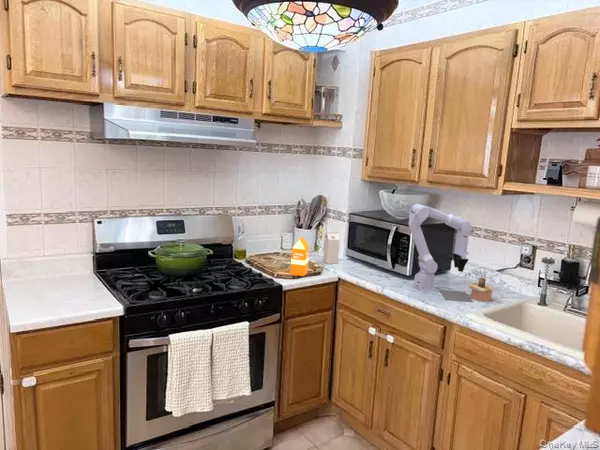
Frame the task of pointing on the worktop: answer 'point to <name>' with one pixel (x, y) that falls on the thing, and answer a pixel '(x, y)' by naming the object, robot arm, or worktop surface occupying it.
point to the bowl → (481, 295)
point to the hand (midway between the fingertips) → (458, 269)
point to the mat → (455, 296)
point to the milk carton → (331, 248)
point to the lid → (481, 286)
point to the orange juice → (300, 258)
